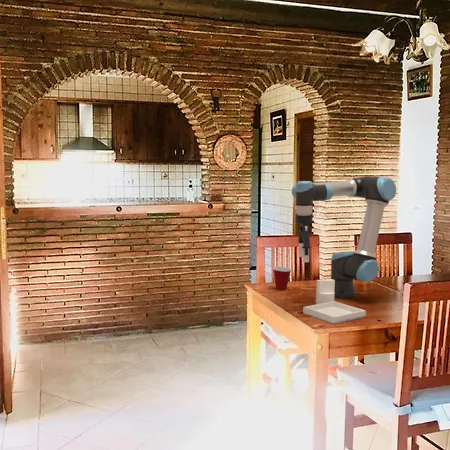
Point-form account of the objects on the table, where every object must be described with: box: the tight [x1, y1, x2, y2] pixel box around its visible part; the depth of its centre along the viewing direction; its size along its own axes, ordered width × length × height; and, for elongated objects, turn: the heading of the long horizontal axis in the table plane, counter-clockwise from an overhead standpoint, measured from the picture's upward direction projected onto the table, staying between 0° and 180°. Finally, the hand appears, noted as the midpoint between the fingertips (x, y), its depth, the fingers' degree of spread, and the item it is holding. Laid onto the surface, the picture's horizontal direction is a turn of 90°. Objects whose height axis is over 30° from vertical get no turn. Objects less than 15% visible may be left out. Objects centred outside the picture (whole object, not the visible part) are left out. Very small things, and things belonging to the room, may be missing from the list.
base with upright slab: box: [315, 278, 335, 305], centre depth 263 cm, size 9×9×12 cm
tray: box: [302, 300, 367, 325], centre depth 243 cm, size 20×20×3 cm
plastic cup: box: [272, 266, 293, 291], centre depth 294 cm, size 11×11×12 cm
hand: (303, 259), depth 248 cm, fingers open, 13 cm apart
